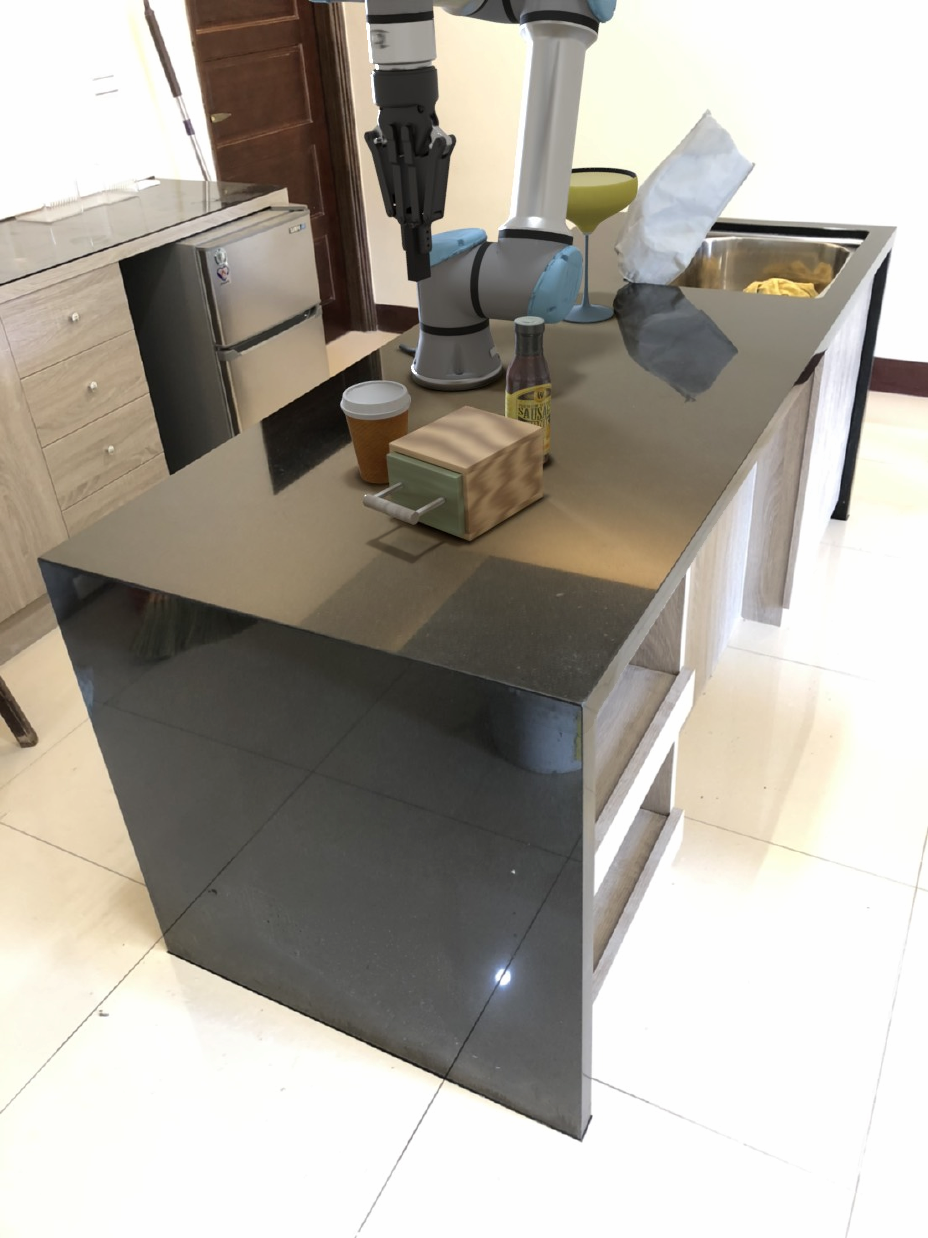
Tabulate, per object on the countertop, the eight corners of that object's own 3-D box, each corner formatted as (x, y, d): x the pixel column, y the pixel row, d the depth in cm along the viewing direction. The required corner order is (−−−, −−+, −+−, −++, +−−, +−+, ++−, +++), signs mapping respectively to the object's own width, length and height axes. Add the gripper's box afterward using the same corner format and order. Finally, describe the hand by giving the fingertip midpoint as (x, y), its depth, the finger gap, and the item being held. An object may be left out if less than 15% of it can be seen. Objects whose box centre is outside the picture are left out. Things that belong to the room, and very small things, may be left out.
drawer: (424, 558, 119) (419, 498, 114) (356, 530, 125) (349, 472, 121) (528, 495, 131) (527, 439, 127) (461, 473, 138) (458, 418, 133)
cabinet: (470, 541, 124) (465, 468, 118) (395, 512, 131) (388, 443, 125) (543, 496, 133) (542, 426, 127) (469, 472, 140) (466, 405, 134)
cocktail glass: (569, 296, 207) (570, 164, 193) (648, 307, 197) (655, 170, 183) (521, 320, 195) (518, 182, 181) (603, 334, 185) (607, 189, 172)
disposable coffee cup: (391, 494, 135) (383, 410, 129) (335, 480, 140) (324, 398, 133) (430, 467, 142) (424, 385, 135) (376, 454, 146) (367, 375, 140)
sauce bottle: (519, 474, 138) (516, 331, 127) (497, 458, 143) (492, 319, 132) (560, 463, 141) (560, 321, 130) (536, 447, 146) (535, 310, 134)
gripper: (339, 67, 115) (362, 278, 128) (423, 70, 107) (437, 293, 120) (386, 60, 119) (402, 264, 132) (469, 62, 112) (478, 278, 125)
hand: (419, 278), depth 126 cm, fingers closed
